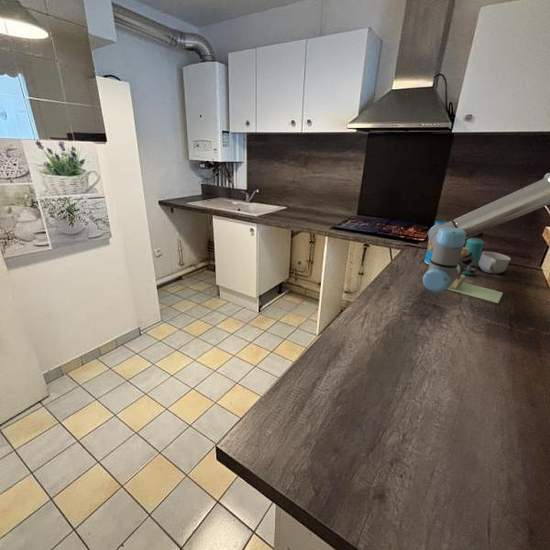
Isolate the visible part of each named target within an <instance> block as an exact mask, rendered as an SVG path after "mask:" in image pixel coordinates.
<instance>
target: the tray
mask: <svg viewBox="0 0 550 550" xmlns="http://www.w3.org/2000/svg"><path fill="white" fill-rule="evenodd" d="M446 290H449V291H452V292H457V293H460V294H463V295H468V296H470V297H473V298H478V299H481V300H485V301H488V302H492V303H495V304H499V303H500V300H501V298H502V296H503V294H504V292H501V291H497V290H494V289H491V288H486V287H483V286H479V285H475V284H471V283H467V282H464V281H463V283H462V284H461V285H460V286H459V287H458V288H456V289H453V288H447V289H446Z"/></svg>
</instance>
